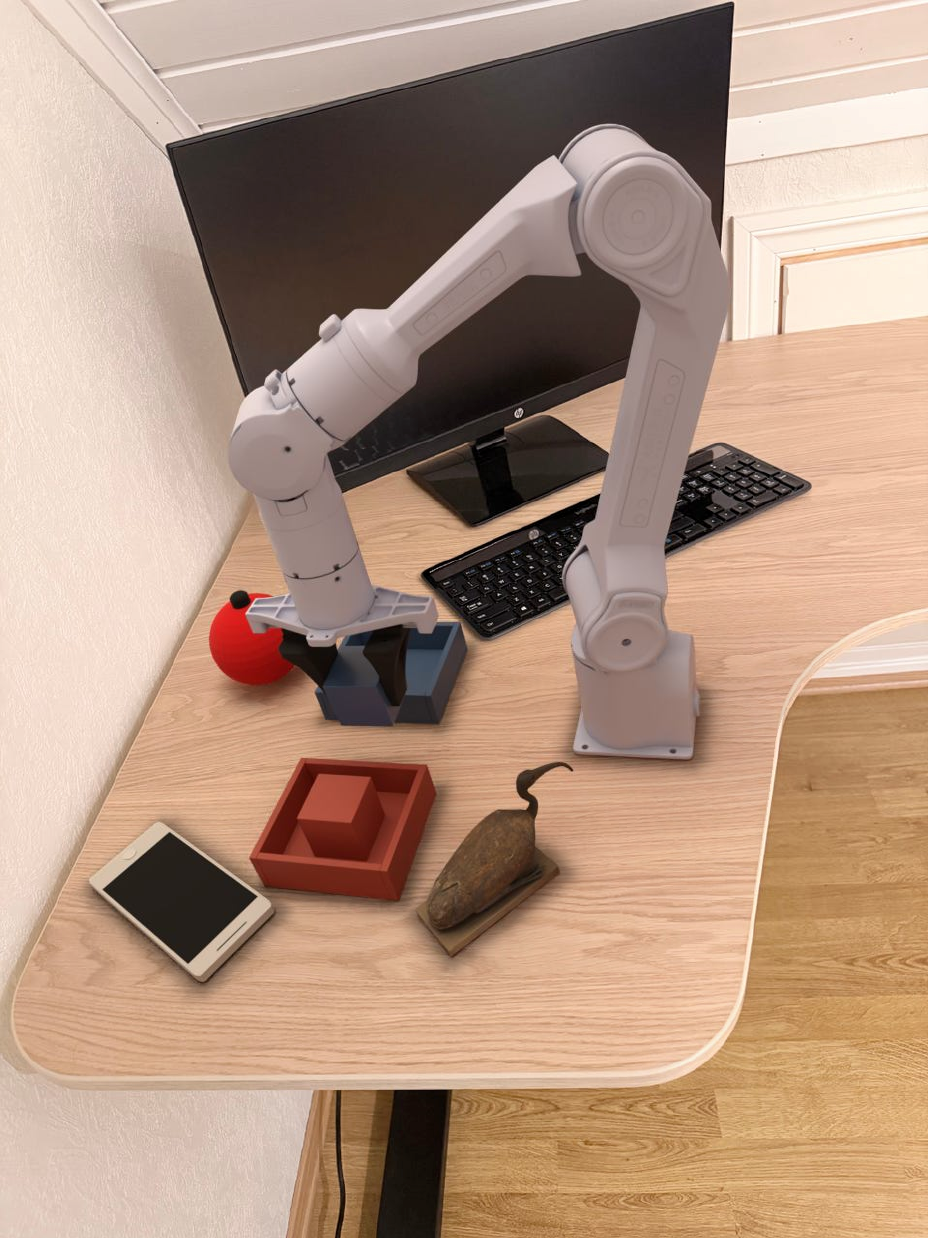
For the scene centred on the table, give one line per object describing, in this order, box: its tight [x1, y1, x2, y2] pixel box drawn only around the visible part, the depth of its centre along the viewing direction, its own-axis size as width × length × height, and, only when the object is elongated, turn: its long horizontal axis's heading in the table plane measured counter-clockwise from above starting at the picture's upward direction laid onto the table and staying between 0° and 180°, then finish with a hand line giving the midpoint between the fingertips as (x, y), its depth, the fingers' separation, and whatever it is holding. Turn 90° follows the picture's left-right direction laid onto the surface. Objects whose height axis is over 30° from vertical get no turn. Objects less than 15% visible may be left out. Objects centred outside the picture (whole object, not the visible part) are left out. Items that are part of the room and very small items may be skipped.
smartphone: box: [88, 821, 276, 983], centre depth 70 cm, size 7×15×1 cm, turn 50°
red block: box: [297, 774, 385, 861], centre depth 70 cm, size 4×4×4 cm
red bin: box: [248, 757, 437, 902], centre depth 71 cm, size 11×10×4 cm
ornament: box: [208, 589, 296, 687], centre depth 88 cm, size 9×9×10 cm
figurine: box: [415, 761, 574, 957], centre depth 63 cm, size 14×4×9 cm, turn 126°
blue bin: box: [314, 621, 469, 725], centre depth 85 cm, size 11×10×4 cm
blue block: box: [323, 646, 409, 727], centre depth 72 cm, size 4×4×4 cm
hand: (369, 696), depth 72 cm, fingers closed on blue block, 4 cm apart
